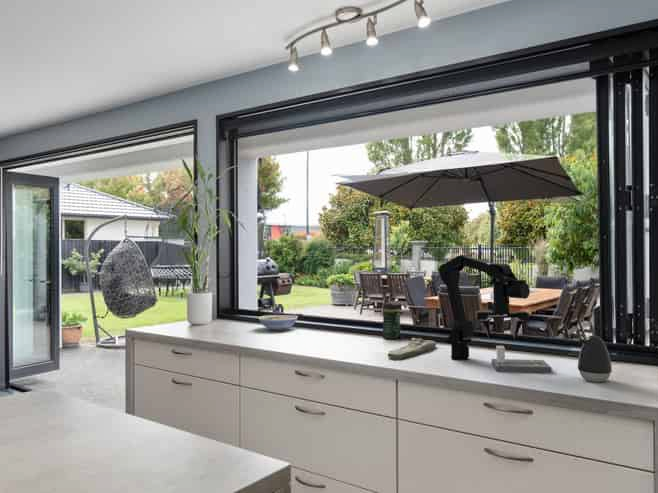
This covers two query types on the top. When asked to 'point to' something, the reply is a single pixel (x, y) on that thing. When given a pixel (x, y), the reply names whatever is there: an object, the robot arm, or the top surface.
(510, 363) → the console
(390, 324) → the coffee jar
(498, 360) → the white small cylinder
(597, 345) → the dark grey speaker
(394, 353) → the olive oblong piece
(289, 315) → the ramen bowl
